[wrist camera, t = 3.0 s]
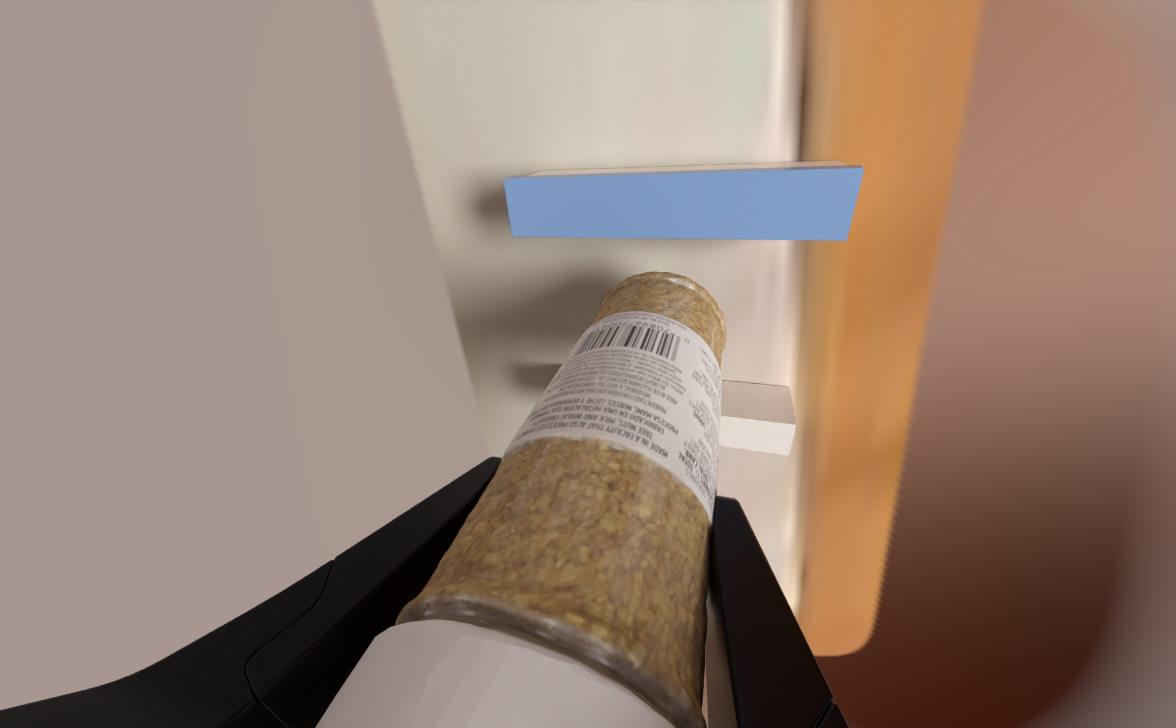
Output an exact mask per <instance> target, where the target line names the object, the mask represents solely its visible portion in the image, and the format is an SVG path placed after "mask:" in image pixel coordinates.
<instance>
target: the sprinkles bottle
mask: <svg viewBox="0 0 1176 728" xmlns="http://www.w3.org/2000/svg"><path fill="white" fill-rule="evenodd" d="M725 342H726V327H725V320H724V316H723V312H722V311H721V309H720V308H719V306H718V304H717V302H716V301H715V299H714V298H713V297H712V296H711V295H710V294H709V293H708V292H707V290H705V289H704V288H703V287H701V286H700V285H698V284H697V283H696V282H694V281H693V280H691V279H689V278H687V277H685V276H681V275H677V274H673V273H668V272H662V273H660V272H646V273H643V274H638V275H634V276H632V277H629V278H627V279H625V280H624V281H623V282H621V283H620V284H619V285H617V286H616V287H614V288H612V289H611V290H610V292H609V293H608V294H607V296H606V297H605V298H604V299H603V301H602V303H601V304H600V307H599V309H598V311H597V314H596V319H595V320H594V322H593V323H592V324H591V326H590V327H589V328H588V329H587V330H586V331H585V332H584V333H583V334H582V336H581V337H580V339H579V340H578V342H577V343H576V345H575V346H574V348H573V349H572V351H571V352H570V354H569V355H568V357H567V358H566V360H565V361H564V363H563V364H562V366H561V367H560V369H559V370H558V372H557V373H556V375H555V376H554V378H553V379H552V381H551V382H550V384H549V385H548V387H547V388H546V390H545V391H544V392H543V394H542V396H541V397H540V399H539V400H538V402H537V403H536V405H535V406H534V408H533V409H532V411H531V412H530V414H529V416H528V417H527V419H526V420H525V422H524V423H523V425H522V426H521V428H520V429H519V431H518V432H517V434H516V435H515V437H514V438H513V440H512V441H511V443H510V445H509V446H508V448H507V450H506V451H505V453H504V455H503V458H502V461H501V463H500V465H499V467H498V469H497V472H496V474H495V476H494V477H493V479H492V480H491V482H490V483H489V485H488V487H487V488H486V490H485V492H484V493H483V494H482V496H481V497H480V499H479V502H478V503H477V505H476V506H475V508H474V509H473V510H472V512H471V513H470V514H469V516H468V517H467V520H466V522H465V523H464V525H463V526H462V528H461V530H460V531H459V533H458V535H457V537H456V538H455V540H454V542H453V543H452V545H451V546H450V548H449V549H448V551H447V552H446V553H445V554H444V556H443V558H442V559H441V561H440V562H439V565H438V567H437V569H436V570H435V572H434V574H433V575H432V577H431V579H430V580H429V582H428V583H427V585H426V586H425V588H424V589H423V591H422V592H421V593H420V594H419V595H418V597H416V598H415V599H414V600H412V601H410V602H409V603H408V604H407V605H406V606H405V607H404V608H403V609H402V611H401V612H400V614H399V616H398V618H397V620H396V623H395V625H396V626H392V627H390V628H388V629H387V630H385V631H384V632H382V633H381V634H379V635H378V636H376V637H375V638H374V640H373V641H372V643H371V644H370V646H369V647H368V649H367V650H366V652H365V653H364V655H363V656H362V658H361V659H360V661H359V662H358V663H357V665H356V666H355V668H354V669H353V671H352V672H351V674H350V675H349V677H348V678H347V680H346V681H345V683H344V684H343V686H342V687H341V689H340V690H339V692H338V693H337V695H336V696H335V698H334V699H333V701H332V702H331V704H330V706H329V707H328V709H327V710H326V712H325V713H324V715H323V717H322V718H321V720H320V721H319V723H318V724H317V726H316V728H707V727H706V721H705V719H704V716H703V714H702V702H703V688H704V671H705V642H706V638H707V623H708V617H707V605H706V601H707V597H708V583H709V578H710V552H711V542H712V534H713V520H714V505H715V497H716V496H717V479H718V457H719V435H720V418H721V399H722V378H721V372H720V370H721V354H722V351H723V349H724V347H725Z"/></svg>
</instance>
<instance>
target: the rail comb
mask: <svg viewBox="0 0 1176 728" xmlns="http://www.w3.org/2000/svg"><path fill="white" fill-rule="evenodd" d="M863 172H864V167H862V166H860V165H846V164H844V163H842V162H841V161H839V160H835V161H807V162H779V163H751V164H723V165H695V166H667V167H639V168H611V169H583V170H555V171H539V172H537V173H534V174H531V175H528V176H511V177H508V178H505V179H503V181H504V188H505V194H506V201H507V207H508V214H509V220H510V227H511V233H512V237H573V238H660V239H747V240H834V241H847V237H848V233H849V229H850V225H851V221H852V217H853V212H854V208H855V204H856V200H857V196H858V192H859V188H860V184H861V180H862V176H863ZM795 428H796V420H795V415H794V410H793V404H792V399H791V393H790V388H789V387H782V386H772V385H762V384H752V383H742V382H732V381H722V399H721V418H720V435H719V446H725V447H732V448H739V449H746V450H753V451H760V452H767V453H774V454H781V455H788V456H789V453H790V449H791V445H792V441H793V437H794V433H795Z"/></svg>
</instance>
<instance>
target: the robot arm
mask: <svg viewBox="0 0 1176 728" xmlns="http://www.w3.org/2000/svg"><path fill="white" fill-rule="evenodd" d="M501 461H502V458H499V457H490V458H488V459H486V460H485V461H483V462H482V463H480V464H479V465H477V466H476V467H474V468H472V469H471V470H469V471H468V472H466V473H465V474H463V475H462V476H460V477H459V478H457V479H455V480H454V481H453V482H451V483H449V484H448V485H446V486H445V487H443V488H442V489H440V490H439V491H437V492H436V493H434V494H432V495H431V496H429V497H428V498H426V499H425V500H423V501H422V502H420V503H418V504H417V505H415V506H414V507H412V508H411V509H409V510H408V511H406V512H405V513H403V514H401V515H400V516H398V517H397V518H395V519H394V520H392V521H391V522H389V523H388V524H386V525H385V526H383V527H381V528H380V529H378V530H377V531H375V532H374V533H372V534H371V535H369V536H368V537H366V538H364V539H363V540H361V541H360V542H358V543H357V544H355V545H354V546H352V547H351V548H349V549H347V550H346V551H344V552H343V553H341V554H340V555H338V556H337V557H336V558H335V559H334V560H331V561H329V562H327V563H326V564H324V565H323V566H321V567H320V568H318V569H317V570H315V571H313V572H312V573H310V574H309V575H307V576H305V577H304V578H303V579H301V580H300V581H297V582H296V583H294V584H293V585H291V586H289V587H288V588H286V589H285V590H283V591H281V592H280V593H278V594H276V595H275V596H273V597H271V598H269V599H268V600H266V601H264V602H263V603H261V604H259V605H257V606H256V607H254V608H252V609H251V610H249V611H247V612H246V613H244V614H242V615H240V616H238V617H237V618H235V619H233V620H231V621H229V622H228V623H226V624H224V625H222V626H221V627H219V628H217V629H215V630H214V631H212V632H210V633H208V634H206V635H205V636H203V637H201V638H199V639H198V640H196V641H194V642H192V643H191V644H189V645H187V646H185V647H184V648H182V649H180V650H178V651H176V652H175V653H173V654H171V655H169V656H167V657H166V658H164V659H162V660H160V661H158V662H156V663H154V664H153V665H151V666H149V667H147V668H145V669H143V670H140V671H138V672H136V673H134V674H131V675H129V676H126V677H124V678H121V679H119V680H116V681H113V682H110V683H107V684H104V685H101V686H97V687H94V688H90V689H87V690H82V691H78V692H74V693H70V694H66V695H61V696H58V697H53V698H49V699H45V700H41V701H37V702H33V703H28V704H24V705H20V706H16V707H12V708H8V709H3V710H0V728H316V726H317V724H318V723H319V721H320V720H321V718H322V717H323V715H324V713H325V712H326V710H327V709H328V707H329V706H330V704H331V702H332V701H333V699H334V698H335V696H336V695H337V693H338V692H339V690H340V689H341V687H342V686H343V684H344V683H345V681H346V680H347V678H348V677H349V675H350V674H351V672H352V671H353V669H354V668H355V666H356V665H357V663H358V662H359V661H360V659H361V658H362V656H363V655H364V653H365V652H366V650H367V649H368V647H369V646H370V644H371V643H372V641H373V640H374V638H375V637H376V636H378V635H379V634H381V633H382V632H384V631H385V630H387V629H388V628H390V627H392V626H396V625H395V623H396V620H397V618H398V616H399V614H400V612H401V611H402V609H403V608H404V607H405V606H406V605H407V604H408V603H409V602H410V601H412V600H414V599H415V598H416V597H418V595H419V594H420V593H421V592H422V591H423V589H424V588H425V586H426V585H427V583H428V582H429V580H430V579H431V577H432V575H433V574H434V572H435V570H436V569H437V567H438V565H439V562H440V561H441V559H442V558H443V556H444V554H445V553H446V552H447V551H448V549H449V548H450V546H451V545H452V543H453V542H454V540H455V538H456V537H457V535H458V533H459V531H460V530H461V528H462V526H463V525H464V523H465V522H466V520H467V517H468V516H469V514H470V513H471V512H472V510H473V509H474V508H475V506H476V505H477V503H478V502H479V499H480V497H481V496H482V494H483V493H484V492H485V490H486V488H487V487H488V485H489V483H490V482H491V480H492V479H493V477H494V476H495V474H496V472H497V469H498V467H499V465H500V463H501ZM706 605H707V617H708V623H707V638H706V642H705V654H706V678H707V701H708V727H709V728H849V727H848V725H847V723H846V721H845V719H844V717H843V715H842V713H841V710H840V708H839V706H838V705H837V704H836V703H835V702H832V701H833V699H834V697H833V695H832V693H831V690H830V689H829V686H828V684H827V682H826V680H825V678H824V676H823V674H822V672H821V670H820V668H819V666H818V664H817V662H816V660H815V658H814V655H813V653H812V651H811V649H810V647H809V645H808V643H807V641H806V639H805V637H804V635H803V633H802V631H801V629H800V627H799V625H798V623H797V620H796V618H795V616H794V614H793V612H792V610H791V608H790V606H789V604H788V602H787V600H786V598H785V596H784V594H783V592H782V590H781V588H780V585H779V583H778V581H777V579H776V577H775V575H774V573H773V571H772V569H771V567H770V565H769V563H768V561H767V559H766V557H765V555H764V553H763V550H762V548H761V546H760V544H759V542H758V540H757V538H756V536H755V534H754V532H753V530H752V528H751V526H750V524H749V522H748V520H747V518H746V515H745V513H744V511H743V509H742V507H741V505H740V503H739V502H738V500H736V499H734V498H729V497H724V496H716V497H715V505H714V520H713V534H712V542H711V552H710V578H709V583H708V597H707V601H706Z"/></svg>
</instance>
